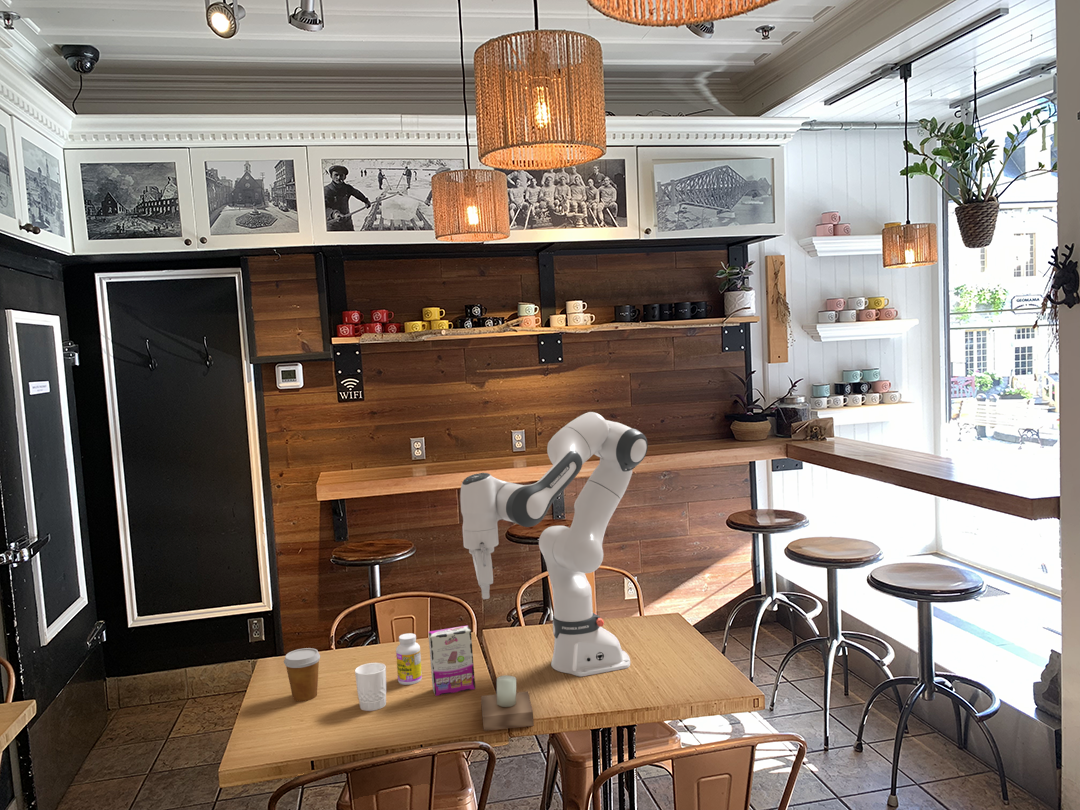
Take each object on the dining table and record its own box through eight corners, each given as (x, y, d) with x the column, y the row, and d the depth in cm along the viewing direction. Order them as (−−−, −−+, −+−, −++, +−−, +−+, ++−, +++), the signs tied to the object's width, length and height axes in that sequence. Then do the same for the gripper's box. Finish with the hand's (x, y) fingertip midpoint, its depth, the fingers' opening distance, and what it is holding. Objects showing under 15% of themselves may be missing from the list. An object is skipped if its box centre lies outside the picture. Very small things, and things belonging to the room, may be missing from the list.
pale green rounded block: (515, 699, 203) (516, 675, 203) (516, 706, 199) (516, 682, 198) (496, 699, 203) (496, 675, 203) (496, 707, 198) (496, 682, 198)
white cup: (351, 706, 212) (349, 669, 212) (377, 696, 218) (374, 660, 217) (368, 715, 207) (365, 677, 206) (394, 704, 212) (391, 667, 211)
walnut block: (528, 706, 208) (528, 691, 207) (533, 727, 196) (532, 711, 195) (481, 711, 206) (481, 695, 206) (484, 733, 194) (483, 716, 194)
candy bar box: (472, 682, 223) (468, 624, 222) (475, 689, 219) (472, 630, 218) (431, 689, 220) (427, 630, 219) (434, 697, 216) (430, 636, 214)
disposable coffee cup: (330, 693, 222) (327, 650, 221) (304, 707, 213) (300, 662, 213) (305, 687, 226) (302, 645, 226) (279, 701, 218) (275, 657, 218)
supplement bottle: (393, 683, 226) (390, 638, 225) (407, 674, 232) (404, 630, 231) (412, 687, 223) (409, 641, 222) (426, 678, 228) (423, 633, 228)
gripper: (496, 547, 194) (500, 603, 195) (490, 528, 214) (493, 580, 215) (470, 549, 193) (474, 606, 194) (466, 531, 214) (470, 582, 215)
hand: (484, 592), depth 205 cm, fingers open, 8 cm apart
